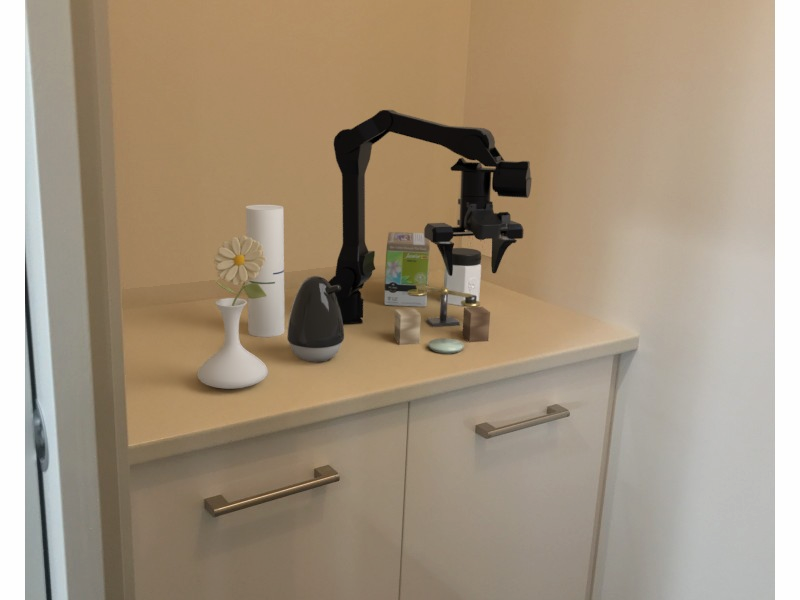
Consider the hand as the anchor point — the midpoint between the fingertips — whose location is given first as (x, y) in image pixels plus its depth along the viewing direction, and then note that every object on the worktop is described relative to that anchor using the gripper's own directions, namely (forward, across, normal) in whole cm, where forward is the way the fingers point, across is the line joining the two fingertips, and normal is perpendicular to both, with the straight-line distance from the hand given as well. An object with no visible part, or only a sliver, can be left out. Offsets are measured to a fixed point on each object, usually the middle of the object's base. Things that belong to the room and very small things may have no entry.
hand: (472, 274), depth 153 cm
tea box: (+13, -4, +30) cm, 33 cm away
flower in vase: (+12, -48, -16) cm, 52 cm away
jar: (+13, +8, +25) cm, 30 cm away
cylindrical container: (+12, -39, +11) cm, 43 cm away
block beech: (+13, -14, 0) cm, 19 cm away
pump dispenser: (+13, -32, -6) cm, 35 cm away
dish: (+13, -8, -6) cm, 16 cm away
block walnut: (+13, 0, -2) cm, 13 cm away
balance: (+13, -2, +10) cm, 16 cm away
